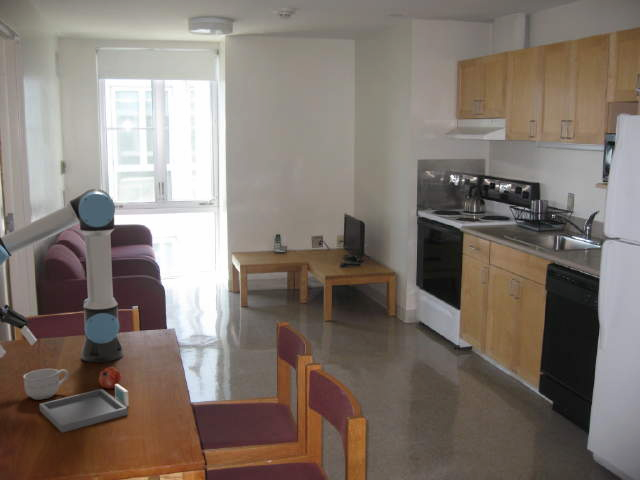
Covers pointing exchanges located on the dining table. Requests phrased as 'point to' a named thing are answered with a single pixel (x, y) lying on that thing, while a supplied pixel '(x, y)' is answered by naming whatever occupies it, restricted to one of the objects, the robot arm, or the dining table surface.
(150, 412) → the dining table surface
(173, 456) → the dining table surface
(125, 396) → the tag
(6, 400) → the dining table surface
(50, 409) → the tray
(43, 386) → the teacup
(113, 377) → the pomegranate
